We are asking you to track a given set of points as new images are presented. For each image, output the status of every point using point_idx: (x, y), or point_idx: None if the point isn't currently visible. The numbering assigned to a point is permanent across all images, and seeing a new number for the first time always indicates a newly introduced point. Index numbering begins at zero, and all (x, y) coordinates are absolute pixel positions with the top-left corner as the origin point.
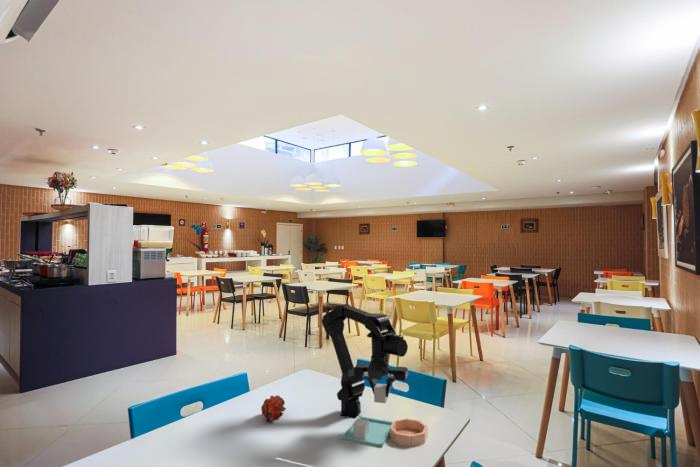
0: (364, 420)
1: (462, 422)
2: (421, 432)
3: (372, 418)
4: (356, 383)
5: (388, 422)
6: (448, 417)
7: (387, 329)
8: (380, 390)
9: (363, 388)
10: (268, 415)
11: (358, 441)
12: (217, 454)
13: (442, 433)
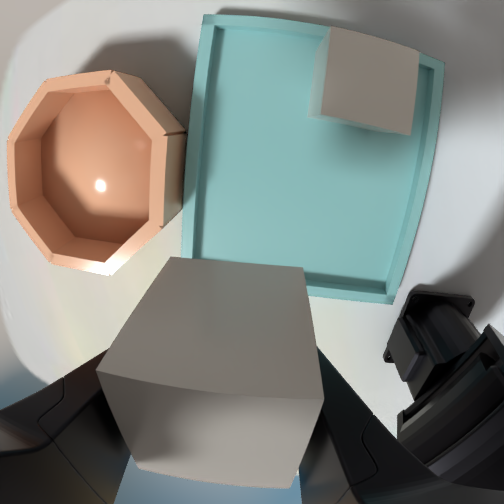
0: (354, 104)
1: (6, 325)
2: (59, 216)
3: (321, 294)
4: (476, 446)
5: None
6: (43, 353)
7: None
8: (190, 355)
9: (406, 442)
10: None
11: None
12: None
13: (15, 243)
